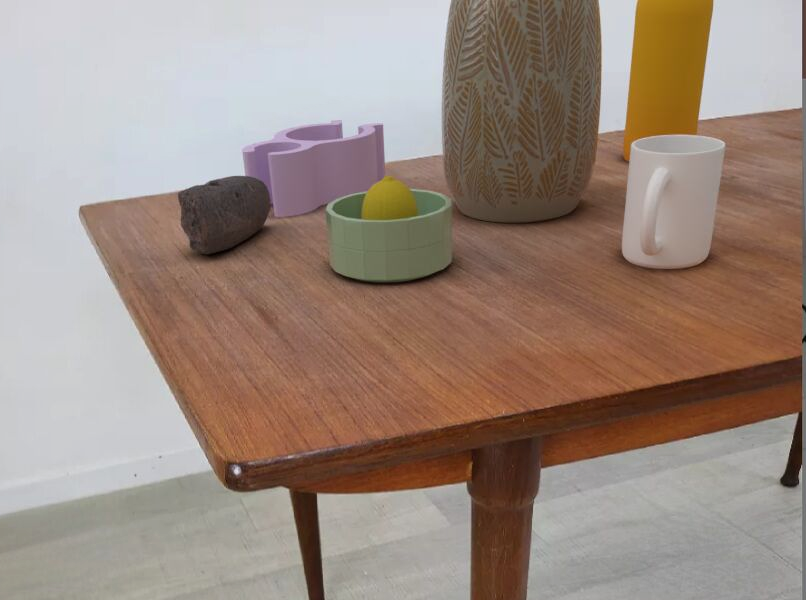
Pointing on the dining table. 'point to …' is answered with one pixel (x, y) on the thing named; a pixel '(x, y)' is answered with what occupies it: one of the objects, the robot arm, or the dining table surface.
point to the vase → (520, 106)
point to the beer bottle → (667, 68)
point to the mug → (671, 200)
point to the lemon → (389, 201)
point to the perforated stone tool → (223, 212)
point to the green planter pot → (390, 239)
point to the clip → (316, 165)
